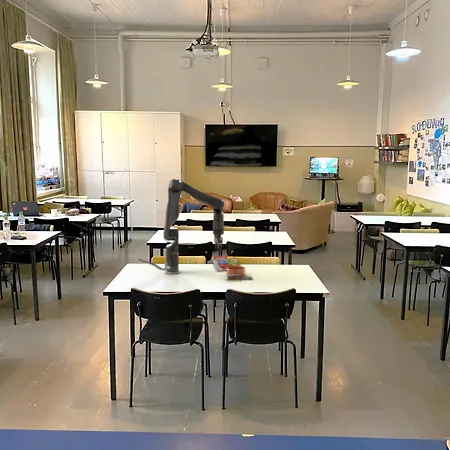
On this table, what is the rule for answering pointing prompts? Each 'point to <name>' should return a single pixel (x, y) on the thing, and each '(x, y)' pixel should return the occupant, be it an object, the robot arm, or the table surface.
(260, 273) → the table surface
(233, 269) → the bowl
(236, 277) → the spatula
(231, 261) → the gear board
